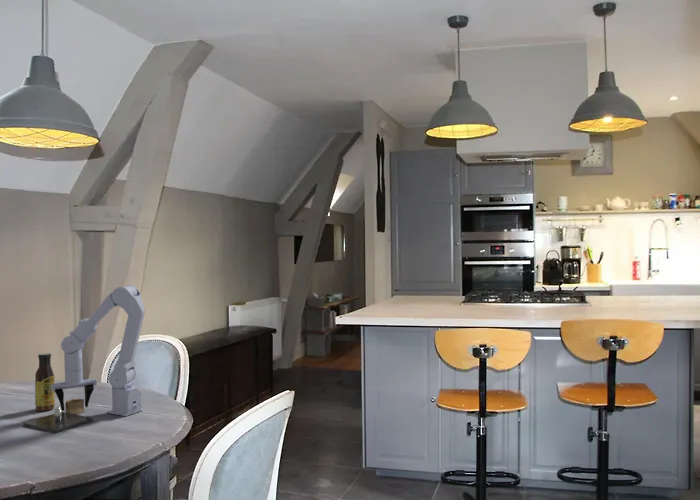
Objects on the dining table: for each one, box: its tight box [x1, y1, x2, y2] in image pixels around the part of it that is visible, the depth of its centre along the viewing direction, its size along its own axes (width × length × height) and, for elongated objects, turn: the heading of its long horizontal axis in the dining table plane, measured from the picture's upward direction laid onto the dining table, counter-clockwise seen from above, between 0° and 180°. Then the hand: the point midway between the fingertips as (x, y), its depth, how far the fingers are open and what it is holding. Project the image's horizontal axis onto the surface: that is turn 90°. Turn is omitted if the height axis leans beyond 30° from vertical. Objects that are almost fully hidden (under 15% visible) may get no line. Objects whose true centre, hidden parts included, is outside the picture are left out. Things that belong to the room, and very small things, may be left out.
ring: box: [64, 398, 85, 415], centre depth 220 cm, size 6×6×4 cm
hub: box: [22, 406, 94, 434], centre depth 207 cm, size 16×14×5 cm
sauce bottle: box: [34, 352, 56, 412], centre depth 224 cm, size 6×6×20 cm
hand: (74, 408), depth 220 cm, fingers open, 7 cm apart
